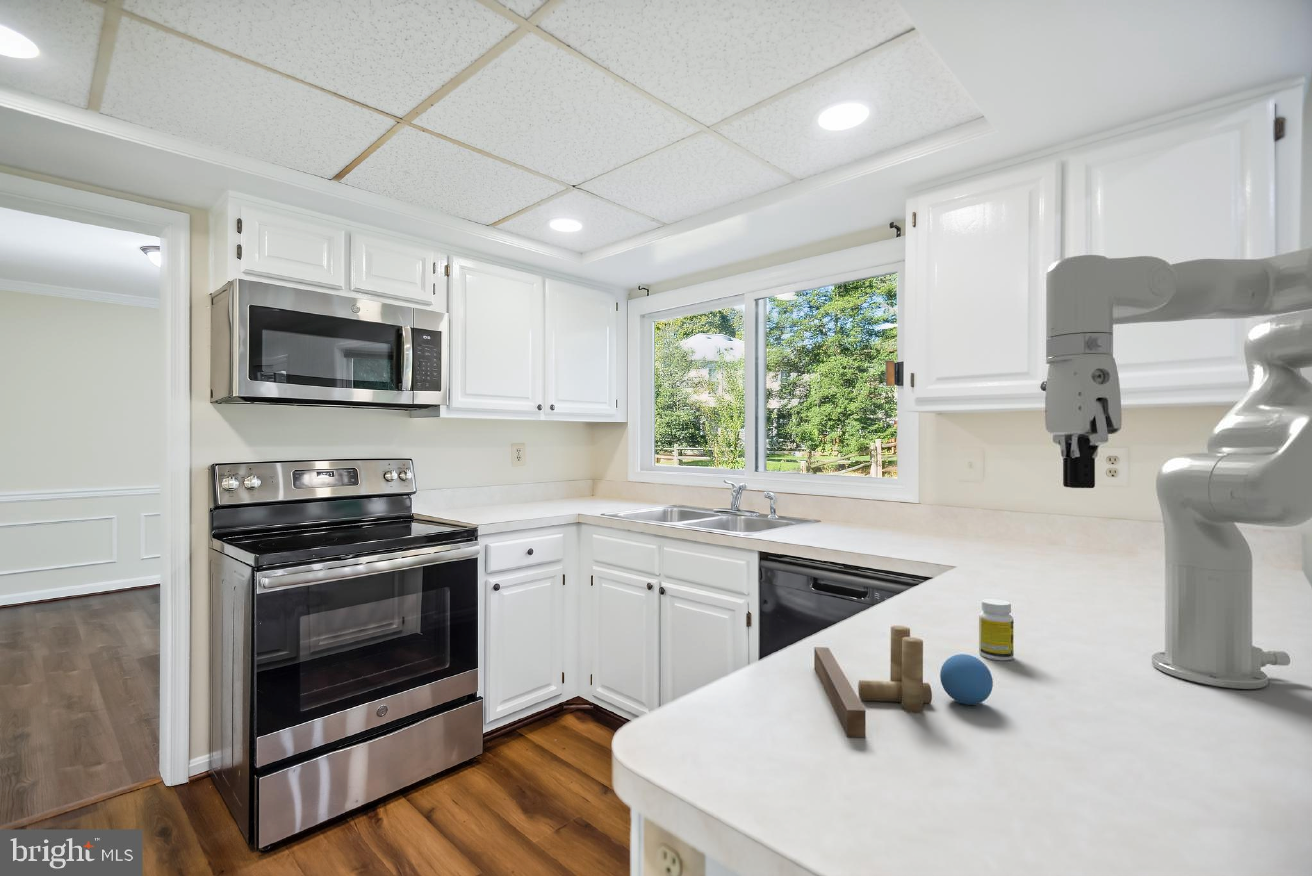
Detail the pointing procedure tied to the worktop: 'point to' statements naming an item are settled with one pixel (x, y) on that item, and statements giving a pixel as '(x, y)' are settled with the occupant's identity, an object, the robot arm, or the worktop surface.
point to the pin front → (887, 691)
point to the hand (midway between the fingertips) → (1078, 487)
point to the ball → (966, 679)
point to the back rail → (840, 693)
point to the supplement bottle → (996, 630)
